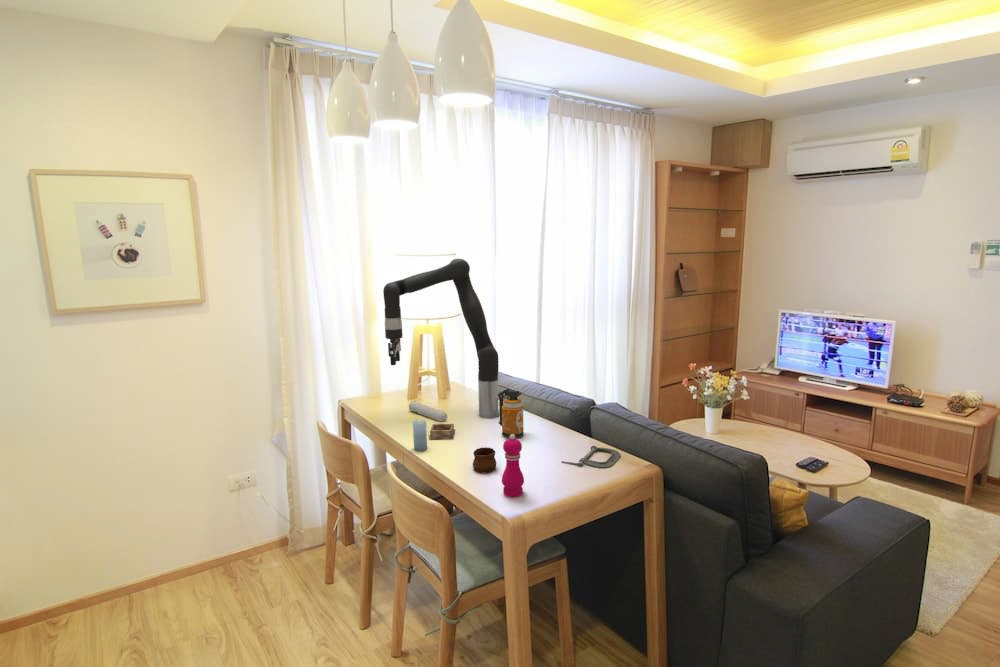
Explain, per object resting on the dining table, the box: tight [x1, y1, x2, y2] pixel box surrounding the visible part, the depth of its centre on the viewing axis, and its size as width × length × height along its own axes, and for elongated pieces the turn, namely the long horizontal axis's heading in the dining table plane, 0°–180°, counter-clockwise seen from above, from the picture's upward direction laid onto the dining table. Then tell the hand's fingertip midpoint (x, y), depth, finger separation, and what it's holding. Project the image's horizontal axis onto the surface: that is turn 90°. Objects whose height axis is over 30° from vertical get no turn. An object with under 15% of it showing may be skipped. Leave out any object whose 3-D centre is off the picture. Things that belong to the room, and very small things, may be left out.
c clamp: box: [561, 445, 621, 469], centre depth 205 cm, size 20×17×3 cm
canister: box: [498, 388, 524, 439], centre depth 230 cm, size 9×11×20 cm
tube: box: [408, 400, 448, 423], centre depth 259 cm, size 5×5×25 cm
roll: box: [412, 419, 428, 452], centre depth 217 cm, size 5×5×11 cm
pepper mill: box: [501, 434, 525, 498], centre depth 176 cm, size 7×7×20 cm
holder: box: [428, 423, 456, 441], centre depth 232 cm, size 10×10×4 cm
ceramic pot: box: [472, 446, 497, 474], centre depth 197 cm, size 18×18×7 cm
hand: (395, 363), depth 248 cm, fingers open, 8 cm apart
